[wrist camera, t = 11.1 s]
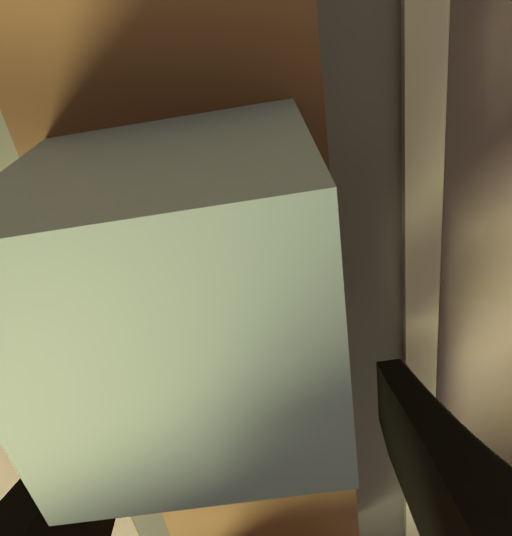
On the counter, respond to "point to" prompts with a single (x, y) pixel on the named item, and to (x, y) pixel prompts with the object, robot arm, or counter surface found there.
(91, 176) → the block
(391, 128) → the dock
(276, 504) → the board
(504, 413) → the counter surface
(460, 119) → the counter surface
